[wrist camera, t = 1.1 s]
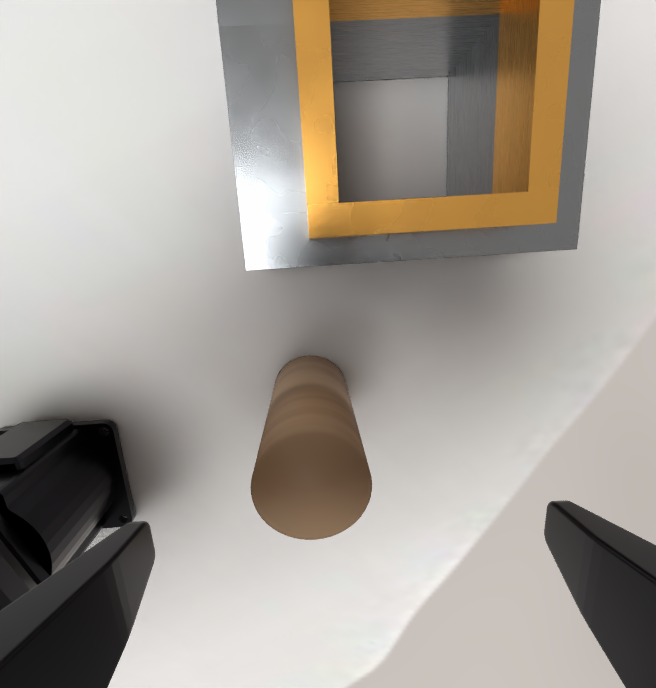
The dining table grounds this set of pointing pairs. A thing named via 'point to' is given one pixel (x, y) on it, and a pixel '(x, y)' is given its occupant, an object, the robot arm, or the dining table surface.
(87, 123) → the dining table surface
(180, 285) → the dining table surface
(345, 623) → the dining table surface
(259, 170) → the grey block with socket
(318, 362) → the wooden plug
